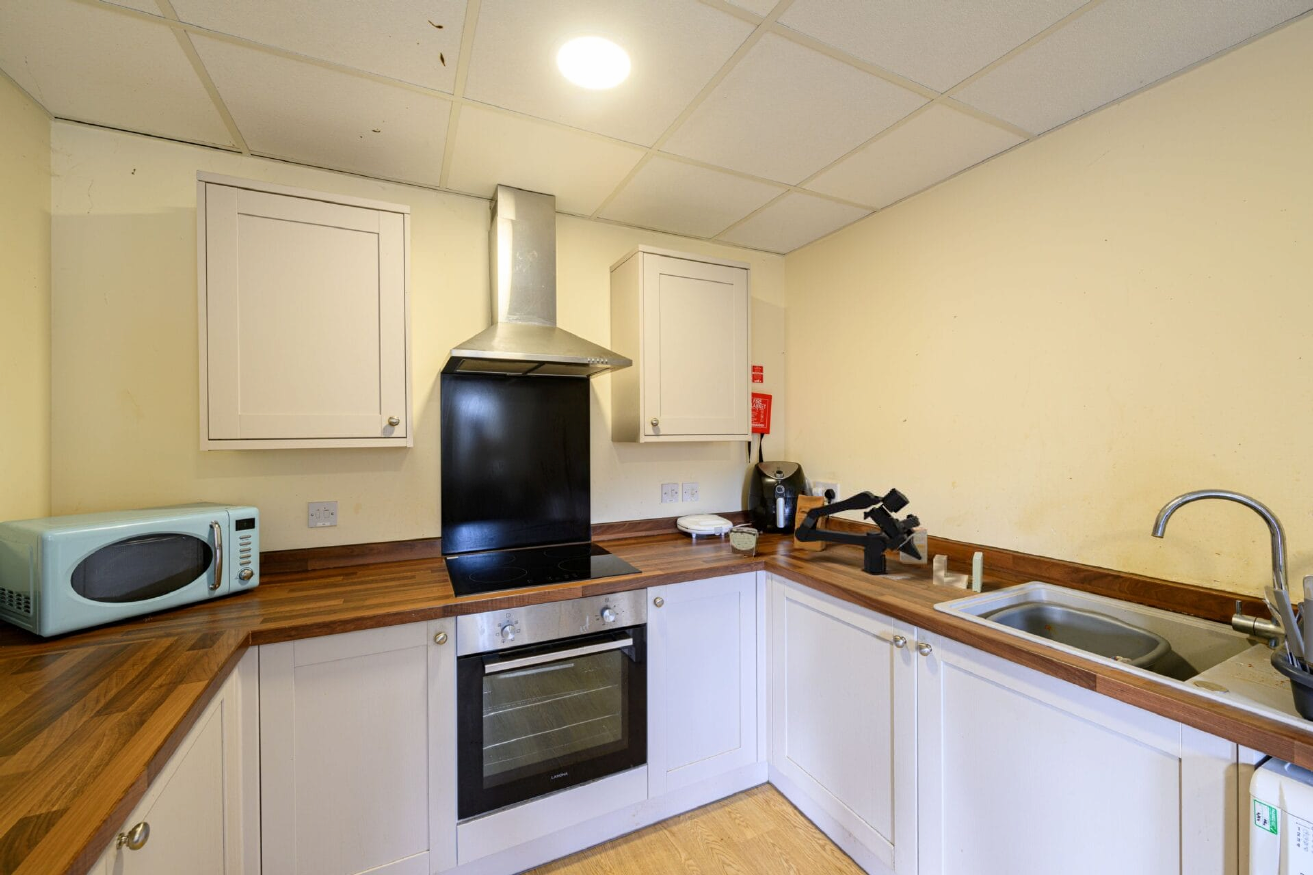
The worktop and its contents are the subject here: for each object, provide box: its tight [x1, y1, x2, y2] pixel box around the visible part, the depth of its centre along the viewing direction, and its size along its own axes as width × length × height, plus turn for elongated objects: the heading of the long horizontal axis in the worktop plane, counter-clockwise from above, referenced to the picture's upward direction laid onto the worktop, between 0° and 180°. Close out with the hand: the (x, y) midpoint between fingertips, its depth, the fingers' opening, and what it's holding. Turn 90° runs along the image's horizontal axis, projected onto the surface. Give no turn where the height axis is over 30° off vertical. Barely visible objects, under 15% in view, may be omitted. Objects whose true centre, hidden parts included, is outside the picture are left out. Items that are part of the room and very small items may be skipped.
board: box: [971, 551, 984, 593], centre depth 164 cm, size 2×11×10 cm, turn 146°
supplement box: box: [899, 526, 928, 566], centre depth 194 cm, size 8×5×13 cm, turn 84°
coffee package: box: [793, 494, 826, 552], centre depth 217 cm, size 10×12×22 cm
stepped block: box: [932, 554, 969, 590], centre depth 168 cm, size 9×8×8 cm
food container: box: [727, 526, 759, 556], centre depth 206 cm, size 12×6×10 cm, turn 58°
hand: (921, 559), depth 173 cm, fingers closed
